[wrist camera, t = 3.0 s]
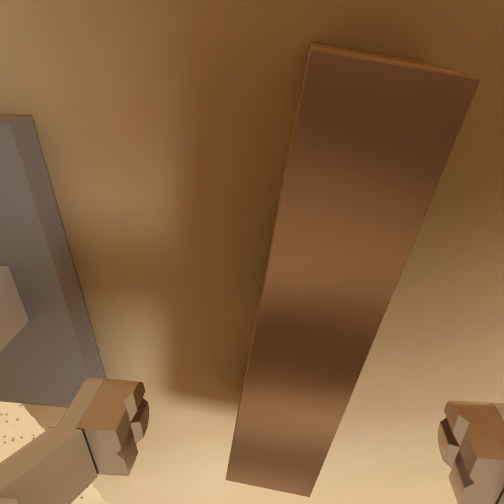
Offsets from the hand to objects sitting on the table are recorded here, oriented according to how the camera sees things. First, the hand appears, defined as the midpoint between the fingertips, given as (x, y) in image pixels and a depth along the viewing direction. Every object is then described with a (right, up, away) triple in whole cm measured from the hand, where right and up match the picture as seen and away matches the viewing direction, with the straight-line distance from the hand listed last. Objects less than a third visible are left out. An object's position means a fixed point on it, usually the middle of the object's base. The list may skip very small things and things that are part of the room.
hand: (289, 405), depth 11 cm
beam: (+1, +3, +5) cm, 6 cm away
